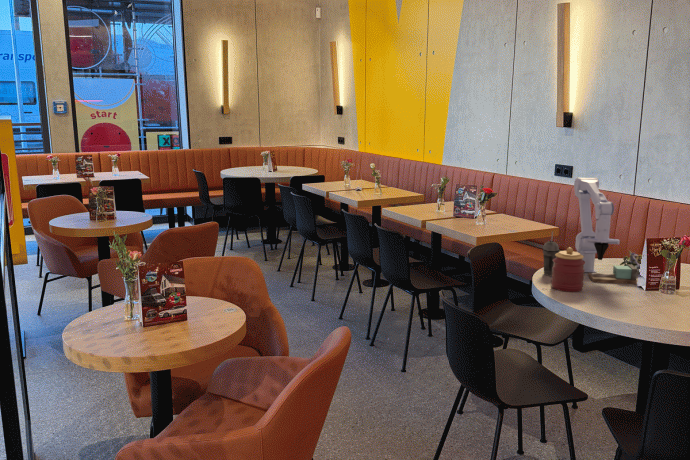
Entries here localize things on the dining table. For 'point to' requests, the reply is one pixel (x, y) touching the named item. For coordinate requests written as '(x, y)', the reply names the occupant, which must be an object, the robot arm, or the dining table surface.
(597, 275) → the rail board
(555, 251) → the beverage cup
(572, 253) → the canister
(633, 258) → the passion flower
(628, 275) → the keeper
